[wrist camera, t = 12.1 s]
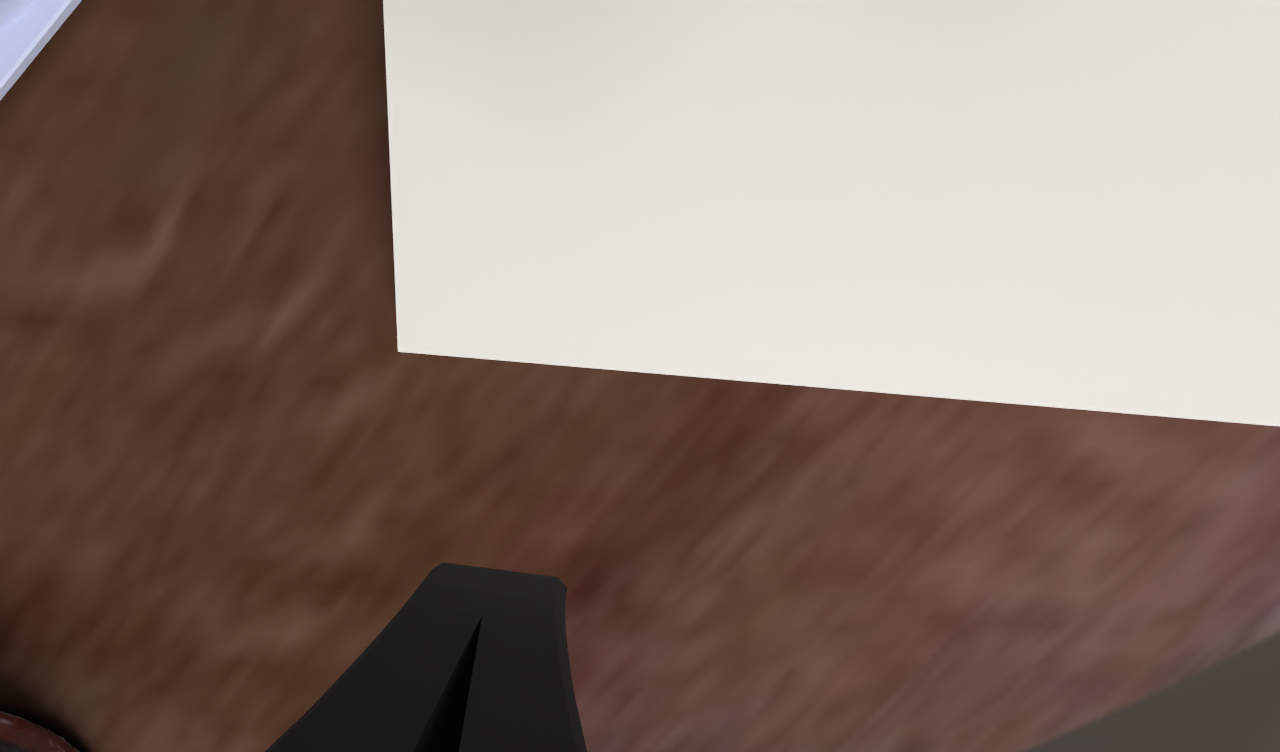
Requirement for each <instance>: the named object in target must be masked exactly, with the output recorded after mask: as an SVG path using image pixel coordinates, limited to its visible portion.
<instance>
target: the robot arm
mask: <svg viewBox="0 0 1280 752" xmlns="http://www.w3.org/2000/svg"><path fill="white" fill-rule="evenodd" d="M81 1H82V0H0V100H1V99H2V98H3V97H4V95H5V94H6V93H7V92H8V90H9V89H10V88H11V87H12V86H13V84H14V83H15V82H16V81H17V79H18V78H19V77H20V76H21V74H22V73H23V72H24V71H25V70H26V68H27V67H28V66H29V65H30V63H31V62H32V61H33V60H34V58H35V57H36V56H37V55H38V54H39V52H40V51H41V50H42V49H43V47H44V46H45V45H46V44H47V42H48V41H49V40H50V39H51V38H52V36H53V35H54V34H55V33H56V31H57V30H58V29H59V28H60V26H61V25H62V24H63V23H64V22H65V20H66V19H67V18H68V17H69V15H70V14H71V13H72V12H73V10H74V9H75V8H76V7H77V6H78V4H79V3H80V2H81ZM566 591H567V587H566V586H565V585H564V584H563V583H562V581H561V580H560V579H559V578H558V577H553V576H545V575H537V574H529V573H521V572H513V571H505V570H497V569H489V568H481V567H473V566H465V565H457V564H449V563H441V564H440V565H438V566H437V567H435V568H434V569H433V570H431V572H430V573H429V574H428V575H427V577H426V578H425V579H424V581H423V582H422V583H421V585H420V586H419V587H418V589H417V590H416V591H415V592H414V594H413V595H412V596H411V597H410V599H409V600H408V601H407V602H406V603H405V605H404V606H403V607H402V608H401V609H400V611H399V612H398V613H397V614H396V615H395V617H394V618H393V619H392V620H391V621H390V623H389V624H388V625H387V626H386V627H385V628H384V629H383V630H382V632H381V633H380V634H379V635H378V636H377V637H376V638H375V640H374V641H373V642H372V643H371V644H370V645H369V646H368V648H367V649H366V650H365V651H364V652H363V653H362V654H361V655H360V656H359V657H358V658H357V659H356V661H355V662H354V663H353V664H352V665H351V666H350V667H349V668H348V669H347V670H346V671H345V672H344V673H343V674H342V675H341V676H340V677H339V679H338V680H337V681H336V682H335V683H334V684H333V685H332V686H331V687H330V688H329V689H328V690H327V691H326V692H325V693H324V694H323V696H322V697H321V698H320V699H319V700H318V701H317V702H316V703H315V704H314V705H313V706H312V707H311V708H310V709H309V710H308V711H307V712H306V713H305V714H304V715H303V716H302V717H301V718H300V719H299V720H298V721H297V722H296V723H295V724H293V725H292V726H291V727H290V728H289V729H288V730H287V731H286V732H285V733H284V734H283V735H282V736H281V737H280V738H279V739H278V740H277V741H276V742H275V743H274V744H273V745H271V746H270V747H269V748H268V749H267V750H266V751H265V752H587V750H586V745H585V741H584V736H583V732H582V727H581V723H580V718H579V714H578V709H577V705H576V700H575V695H574V690H573V684H572V678H571V672H570V665H569V657H568V650H567V641H566V629H565V600H566Z"/></svg>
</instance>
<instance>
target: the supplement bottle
mask: <svg viewBox="0 0 1280 752" xmlns="http://www.w3.org/2000/svg"><path fill="white" fill-rule="evenodd" d="M0 752H79V751H78V750H77V749H76V748H74V747H73V746H72V745H70V744H69V743H68V742H66V741H65V739H64V738H62V737H60V736H58V735H56V734H55V733H54V732H52V731H51V730H49V729H47V728H44V727H42V726H40V725H38V724H35V723H32V722H30V721H28V720H25V719H23V718H21V717H18V716H15V715H12V714H8V713H5V712H0Z"/></svg>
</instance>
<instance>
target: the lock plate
mask: <svg viewBox="0 0 1280 752" xmlns="http://www.w3.org/2000/svg"><path fill="white" fill-rule="evenodd" d="M383 11H384V34H385V58H386V81H387V105H388V128H389V152H390V175H391V199H392V222H393V246H394V269H395V293H396V316H397V340H398V352H408V353H420V354H431V355H443V356H455V357H467V358H479V359H490V360H502V361H514V362H526V363H538V364H549V365H561V366H573V367H585V368H597V369H609V370H620V371H632V372H644V373H656V374H668V375H679V376H691V377H703V378H715V379H727V380H738V381H750V382H762V383H774V384H786V385H797V386H809V387H821V388H833V389H845V390H857V391H868V392H880V393H892V394H904V395H916V396H927V397H939V398H951V399H963V400H975V401H986V402H998V403H1010V404H1022V405H1034V406H1045V407H1057V408H1069V409H1081V410H1093V411H1104V412H1116V413H1128V414H1140V415H1152V416H1164V417H1175V418H1187V419H1199V420H1211V421H1223V422H1234V423H1246V424H1258V425H1270V426H1280V0H383Z"/></svg>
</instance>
